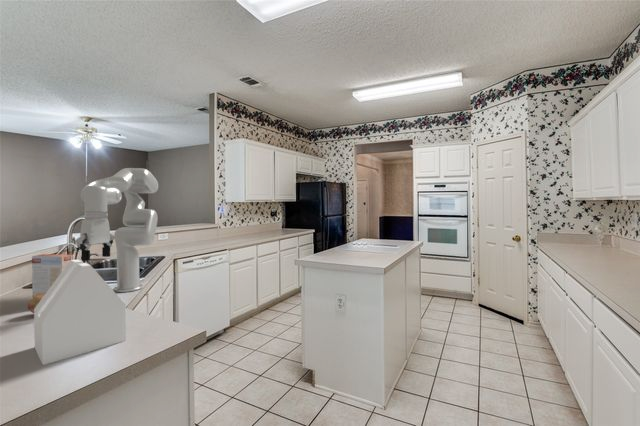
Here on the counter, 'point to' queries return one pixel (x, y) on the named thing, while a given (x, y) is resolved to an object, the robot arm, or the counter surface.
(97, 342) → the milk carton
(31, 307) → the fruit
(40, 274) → the cracker box
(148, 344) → the counter surface
